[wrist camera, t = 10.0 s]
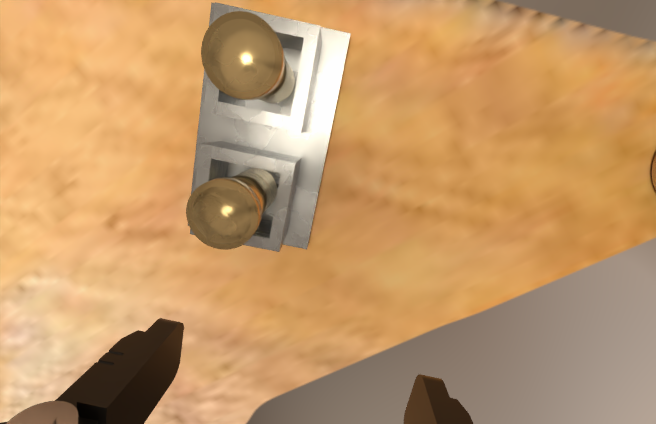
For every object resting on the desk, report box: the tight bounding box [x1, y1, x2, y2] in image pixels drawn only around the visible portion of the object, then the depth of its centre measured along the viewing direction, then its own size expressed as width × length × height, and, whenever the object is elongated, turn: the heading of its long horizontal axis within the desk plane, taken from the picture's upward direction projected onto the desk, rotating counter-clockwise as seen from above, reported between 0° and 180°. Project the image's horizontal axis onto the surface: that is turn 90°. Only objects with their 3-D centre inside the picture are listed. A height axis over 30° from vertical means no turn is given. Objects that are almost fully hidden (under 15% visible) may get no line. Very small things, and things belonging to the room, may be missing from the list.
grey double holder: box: [188, 2, 350, 252], centre depth 26 cm, size 12×20×11 cm, turn 168°
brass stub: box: [186, 168, 277, 249], centre depth 27 cm, size 5×5×10 cm
